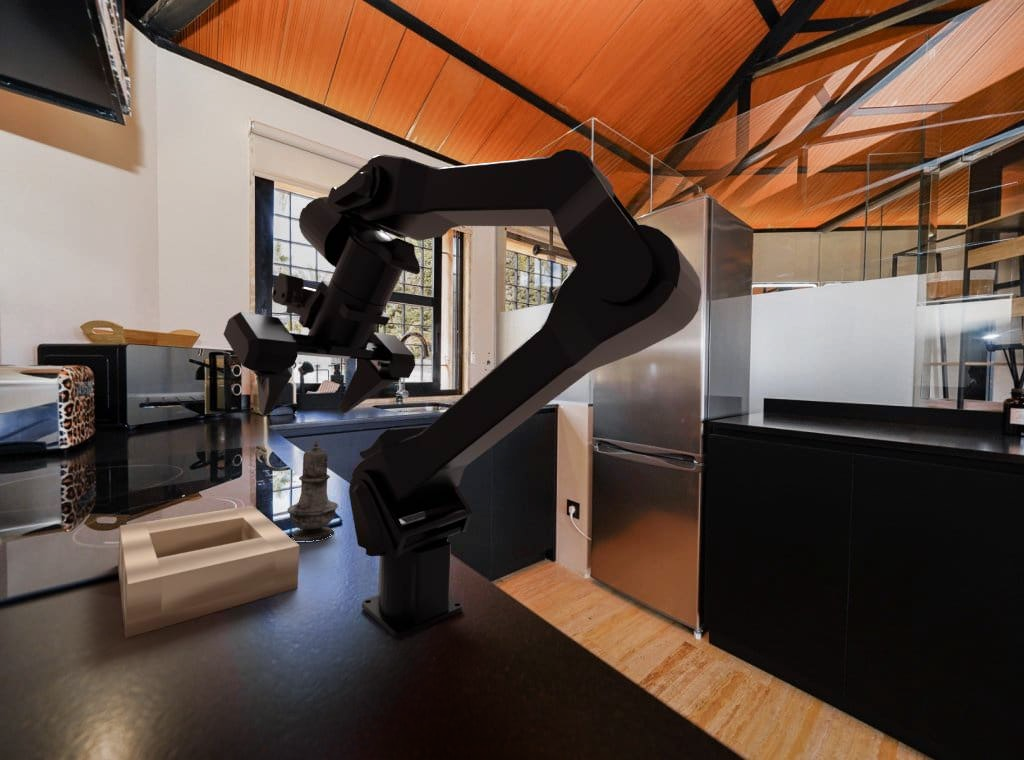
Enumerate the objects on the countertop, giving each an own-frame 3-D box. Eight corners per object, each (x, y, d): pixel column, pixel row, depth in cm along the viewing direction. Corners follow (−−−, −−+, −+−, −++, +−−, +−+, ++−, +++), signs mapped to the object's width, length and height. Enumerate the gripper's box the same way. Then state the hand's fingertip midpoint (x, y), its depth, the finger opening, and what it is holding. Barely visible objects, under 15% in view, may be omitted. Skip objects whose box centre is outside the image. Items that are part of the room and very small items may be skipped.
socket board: (297, 587, 40) (299, 545, 40) (125, 638, 31) (128, 584, 31) (251, 538, 52) (252, 505, 52) (117, 564, 43) (119, 525, 43)
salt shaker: (317, 546, 50) (321, 445, 50) (274, 540, 51) (279, 442, 51) (346, 530, 56) (350, 439, 56) (307, 525, 57) (311, 437, 57)
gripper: (392, 275, 54) (346, 373, 58) (229, 225, 38) (185, 365, 43) (442, 320, 48) (387, 424, 53) (276, 284, 33) (220, 436, 38)
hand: (306, 411), depth 47 cm, fingers open, 9 cm apart
